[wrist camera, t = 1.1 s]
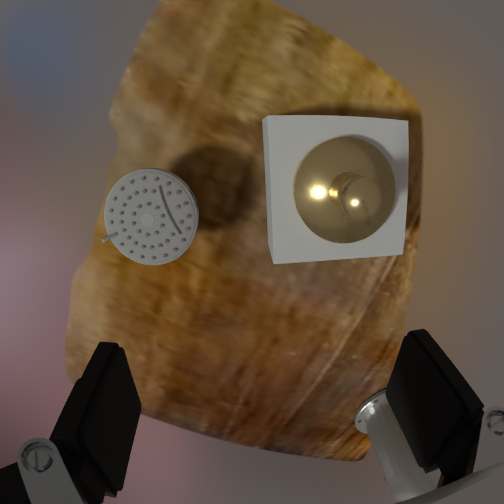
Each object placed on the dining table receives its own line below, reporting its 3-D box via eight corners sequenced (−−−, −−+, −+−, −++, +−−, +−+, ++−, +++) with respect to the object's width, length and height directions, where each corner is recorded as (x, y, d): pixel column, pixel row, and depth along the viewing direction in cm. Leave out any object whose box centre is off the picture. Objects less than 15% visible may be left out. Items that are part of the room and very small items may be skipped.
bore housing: (380, 237, 36) (402, 254, 31) (268, 244, 36) (273, 264, 31) (383, 122, 32) (408, 120, 26) (262, 120, 31) (267, 115, 26)
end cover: (371, 225, 34) (416, 258, 25) (287, 230, 34) (306, 267, 24) (373, 138, 31) (423, 141, 21) (283, 137, 31) (304, 136, 21)
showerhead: (80, 198, 26) (171, 152, 25) (108, 186, 33) (185, 150, 32) (122, 283, 29) (212, 249, 29) (141, 257, 36) (217, 227, 35)
